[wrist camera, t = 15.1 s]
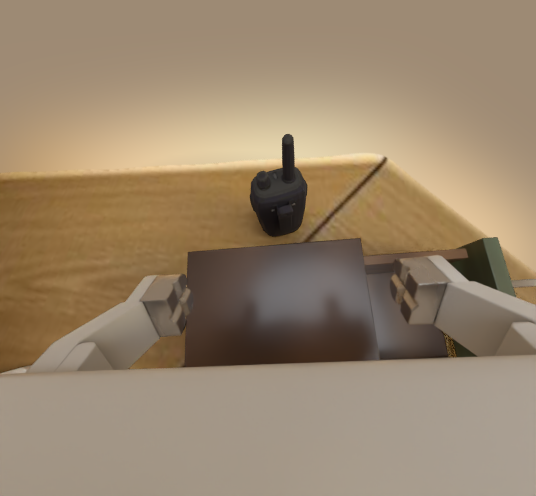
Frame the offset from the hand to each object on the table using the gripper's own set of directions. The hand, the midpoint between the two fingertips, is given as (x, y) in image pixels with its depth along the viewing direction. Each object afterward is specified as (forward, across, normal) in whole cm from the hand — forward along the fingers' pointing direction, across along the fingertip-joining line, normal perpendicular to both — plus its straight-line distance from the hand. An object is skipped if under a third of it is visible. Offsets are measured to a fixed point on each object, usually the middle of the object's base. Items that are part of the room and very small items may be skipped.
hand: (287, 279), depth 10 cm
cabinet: (+12, -1, -15) cm, 19 cm away
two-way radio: (+20, 0, -7) cm, 21 cm away
